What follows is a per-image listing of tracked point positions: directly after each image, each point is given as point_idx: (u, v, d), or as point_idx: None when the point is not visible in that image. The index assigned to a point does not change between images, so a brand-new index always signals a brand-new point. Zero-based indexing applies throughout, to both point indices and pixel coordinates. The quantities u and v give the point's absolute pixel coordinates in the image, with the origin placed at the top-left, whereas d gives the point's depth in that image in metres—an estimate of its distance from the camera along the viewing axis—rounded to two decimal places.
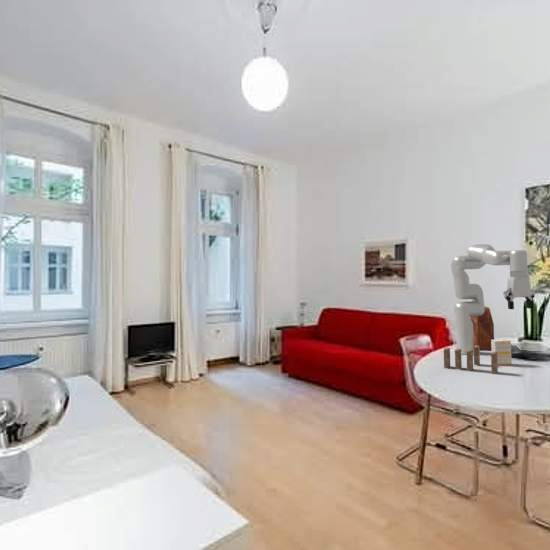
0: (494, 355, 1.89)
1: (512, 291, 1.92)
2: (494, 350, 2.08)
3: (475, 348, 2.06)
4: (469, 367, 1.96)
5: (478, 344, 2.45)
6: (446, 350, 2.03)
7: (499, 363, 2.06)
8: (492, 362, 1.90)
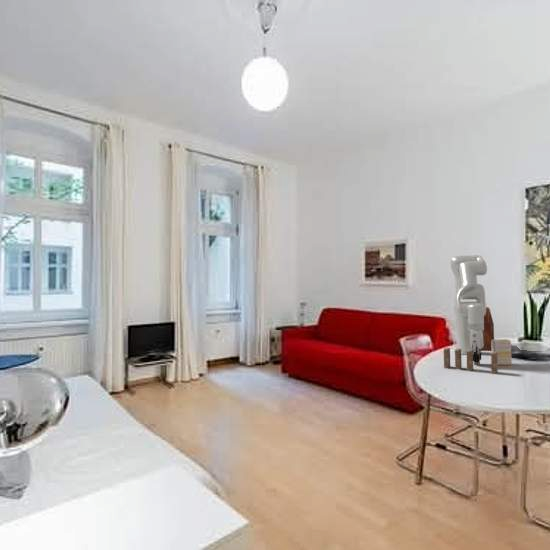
0: (494, 355, 1.89)
1: None
2: (494, 350, 2.08)
3: None
4: (469, 367, 1.96)
5: None
6: (446, 350, 2.03)
7: (499, 363, 2.06)
8: (492, 362, 1.90)
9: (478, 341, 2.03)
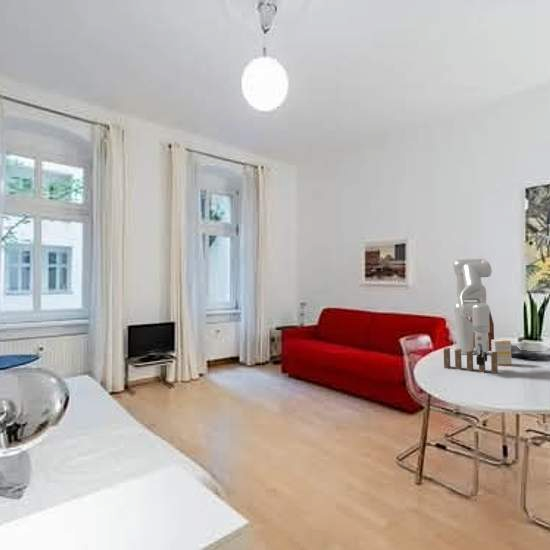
0: (494, 355, 1.89)
1: None
2: (494, 350, 2.08)
3: None
4: (469, 367, 1.96)
5: None
6: (446, 350, 2.03)
7: (499, 363, 2.06)
8: (492, 362, 1.90)
9: (483, 344, 1.90)
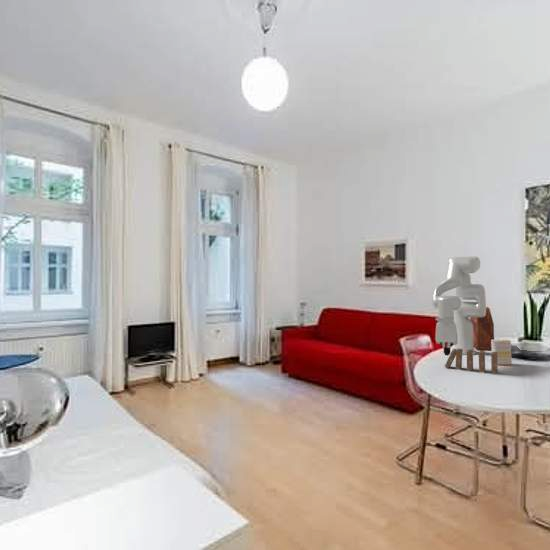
0: (494, 355, 1.89)
1: None
2: (494, 350, 2.08)
3: (480, 353, 1.93)
4: (469, 367, 1.96)
5: (478, 344, 2.45)
6: (454, 352, 2.00)
7: (499, 363, 2.06)
8: (492, 362, 1.90)
9: None
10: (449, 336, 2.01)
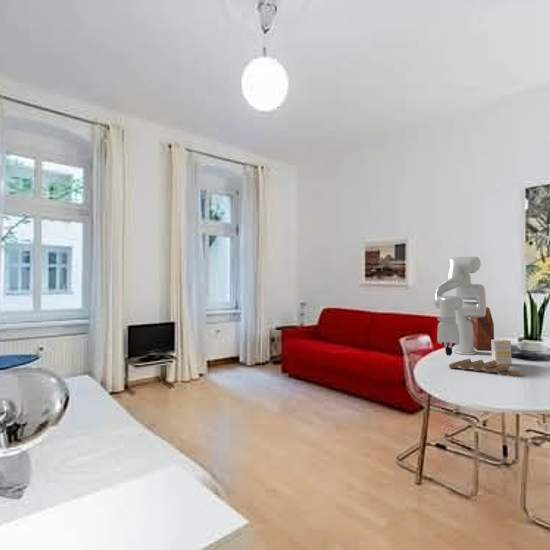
0: (518, 376, 1.83)
1: (459, 336, 2.02)
2: (494, 350, 2.08)
3: (505, 367, 1.86)
4: (477, 369, 1.94)
5: (478, 344, 2.45)
6: (468, 363, 1.96)
7: (499, 363, 2.06)
8: (510, 373, 1.85)
9: None
10: (451, 336, 2.01)
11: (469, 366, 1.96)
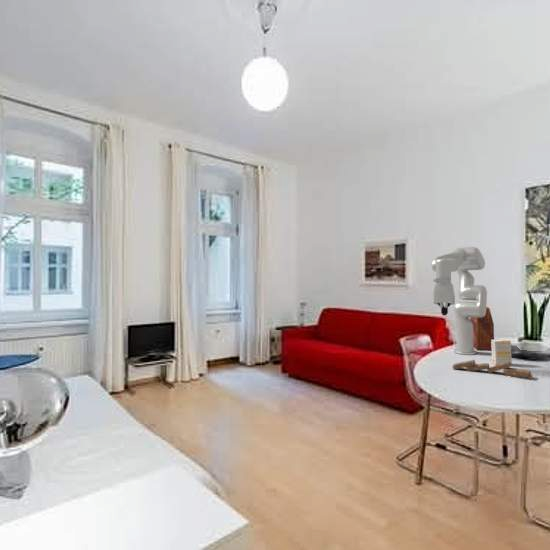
0: None
1: (454, 296, 2.09)
2: (494, 350, 2.08)
3: (525, 373, 1.79)
4: (491, 370, 1.90)
5: (478, 344, 2.45)
6: (472, 364, 1.95)
7: (499, 363, 2.06)
8: (519, 376, 1.82)
9: None
10: (446, 296, 2.08)
11: (474, 368, 1.94)
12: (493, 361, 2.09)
